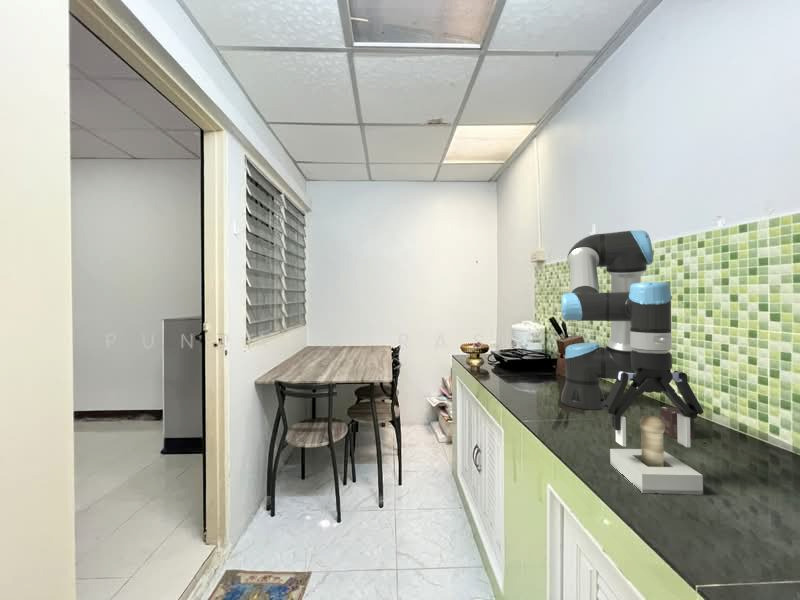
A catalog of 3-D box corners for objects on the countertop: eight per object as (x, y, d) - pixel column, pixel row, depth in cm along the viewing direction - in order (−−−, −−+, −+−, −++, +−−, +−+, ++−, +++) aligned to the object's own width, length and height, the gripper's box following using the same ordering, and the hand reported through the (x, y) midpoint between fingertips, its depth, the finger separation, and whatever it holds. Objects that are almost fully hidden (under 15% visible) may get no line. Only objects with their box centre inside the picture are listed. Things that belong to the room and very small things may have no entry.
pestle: (635, 469, 78) (634, 411, 78) (656, 469, 78) (655, 412, 78) (649, 480, 74) (648, 419, 74) (671, 480, 73) (670, 419, 73)
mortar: (610, 465, 82) (610, 448, 82) (661, 465, 81) (661, 449, 81) (642, 493, 70) (642, 474, 70) (703, 494, 69) (702, 475, 69)
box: (695, 439, 96) (694, 414, 96) (671, 438, 97) (671, 413, 97) (682, 431, 102) (681, 407, 102) (659, 430, 103) (659, 406, 103)
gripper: (602, 353, 73) (603, 451, 73) (724, 352, 71) (725, 452, 71) (585, 348, 80) (587, 436, 80) (695, 347, 79) (696, 438, 79)
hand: (652, 444), depth 76 cm, fingers open, 13 cm apart
